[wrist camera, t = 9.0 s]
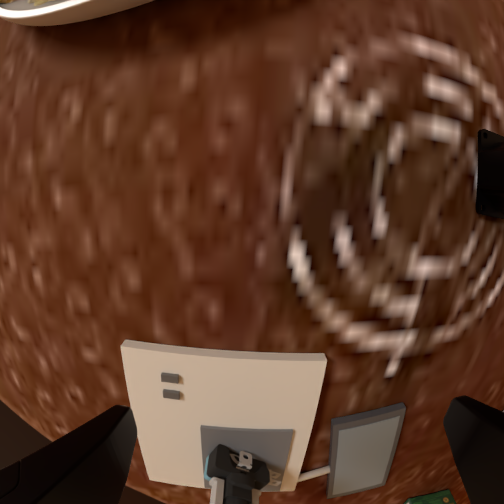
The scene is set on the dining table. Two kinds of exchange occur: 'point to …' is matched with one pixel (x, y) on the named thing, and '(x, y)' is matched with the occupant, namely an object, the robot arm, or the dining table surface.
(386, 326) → the dining table surface
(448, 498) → the coffee box
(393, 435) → the phone slab
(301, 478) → the wooden dowel
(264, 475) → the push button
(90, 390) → the dining table surface
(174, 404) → the outlet plate
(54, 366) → the dining table surface
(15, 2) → the bowl
